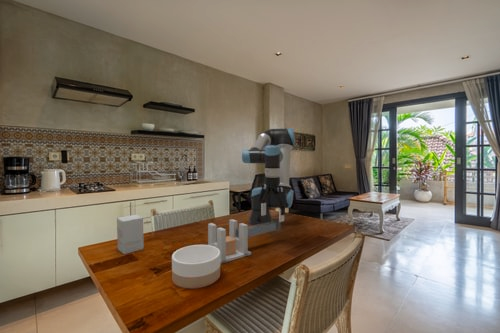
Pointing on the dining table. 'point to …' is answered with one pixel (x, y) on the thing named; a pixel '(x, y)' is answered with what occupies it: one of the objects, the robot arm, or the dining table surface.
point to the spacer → (230, 245)
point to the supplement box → (130, 233)
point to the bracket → (221, 236)
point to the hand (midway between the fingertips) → (272, 218)
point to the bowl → (195, 266)
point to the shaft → (262, 228)
